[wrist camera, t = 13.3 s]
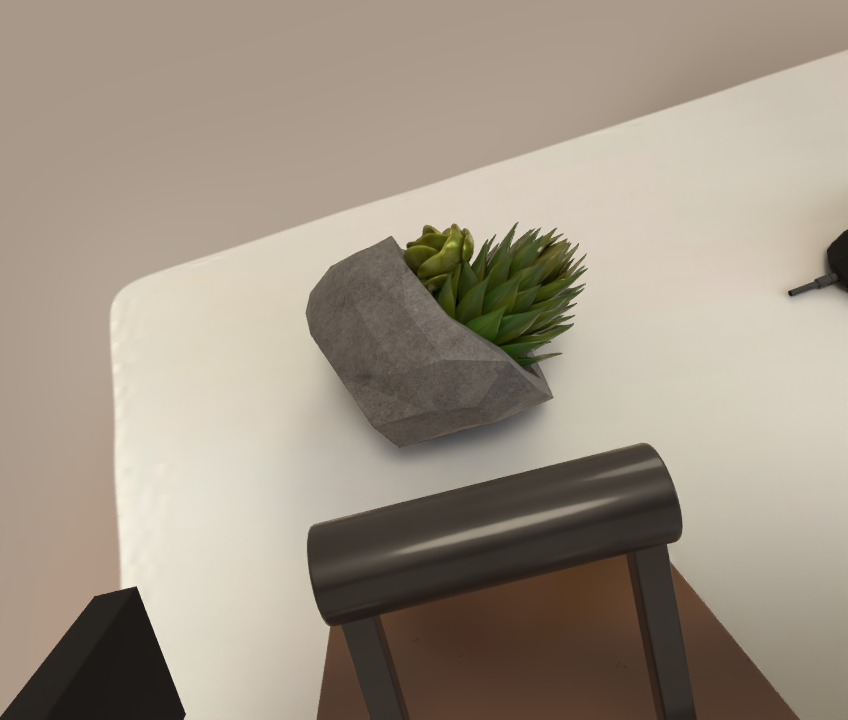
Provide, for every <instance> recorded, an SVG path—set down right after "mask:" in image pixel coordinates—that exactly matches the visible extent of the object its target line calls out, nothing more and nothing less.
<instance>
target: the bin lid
mask: <svg viewBox="0 0 848 720" xmlns="http://www.w3.org/2000/svg"><path fill="white" fill-rule="evenodd" d="M681 535H682V515H681V509H680V504H679V500H678V496H677V493H676V489H675V486H674V484H673V481H672V479H671V476H670V474H669V472H668V470H667V467H666V466H665V464H664V462H663V460H662V459H661V457H660V456H659V454H658V453H657V451H656V450H655V449H654V448H653V447H652V446H651V445H649V444H647V443H639V444H635V445H631V446H627V447H623V448H619V449H615V450H611V451H607V452H603V453H599V454H595V455H591V456H587V457H583V458H579V459H575V460H571V461H567V462H563V463H559V464H555V465H551V466H547V467H543V468H539V469H535V470H531V471H526V472H522V473H518V474H514V475H510V476H506V477H502V478H498V479H494V480H490V481H486V482H482V483H478V484H474V485H470V486H466V487H462V488H458V489H454V490H450V491H446V492H442V493H438V494H434V495H430V496H426V497H422V498H418V499H414V500H410V501H406V502H402V503H398V504H394V505H390V506H385V507H381V508H377V509H373V510H369V511H365V512H361V513H357V514H353V515H349V516H345V517H341V518H337V519H333V520H329V521H325V522H321V523H317V524H314V525H313V526H311V527H310V529H309V533H308V540H307V557H308V567H309V574H310V580H311V585H312V589H313V593H314V597H315V601H316V604H317V607H318V609H319V612H320V614H321V616H322V618H323V620H324V621H325V623H326V624H327V625H328V626H330V633H329V640H328V646H327V653H326V660H325V666H324V673H323V680H322V687H321V693H320V700H319V707H318V713H317V720H800V719H799V718H798V717H797V716H796V714H795V713H794V712H793V711H792V709H791V708H790V707H789V706H788V705H787V703H786V702H785V701H784V700H783V698H782V697H781V696H780V695H779V694H778V692H777V691H776V690H775V689H774V687H773V686H772V685H771V684H770V683H769V681H768V680H767V679H766V678H765V676H764V675H763V674H762V673H761V672H760V670H759V669H758V668H757V667H756V665H755V664H754V663H753V662H752V661H751V659H750V658H749V657H748V656H747V654H746V653H745V652H744V651H743V650H742V648H741V647H740V646H739V645H738V644H737V642H736V641H735V640H734V639H733V637H732V636H731V635H730V634H729V633H728V631H727V630H726V629H725V628H724V626H723V625H722V624H721V623H720V622H719V620H718V619H717V618H716V617H715V615H714V614H713V613H712V612H711V611H710V609H709V608H708V607H707V606H706V604H705V603H704V602H703V601H702V600H701V598H700V597H699V596H698V595H697V593H696V592H695V591H694V590H693V589H692V587H691V586H690V585H689V584H688V582H687V581H686V580H685V579H684V578H683V576H682V575H681V574H680V573H679V571H678V570H677V569H676V568H675V567H674V565H673V564H672V563H671V562H670V560H669V554H668V548H667V544H669V543H673V542H676V541H678V540H679V539H680V537H681Z"/></svg>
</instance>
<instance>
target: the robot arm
mask: <svg viewBox="0 0 848 720" xmlns="http://www.w3.org/2000/svg"><path fill="white" fill-rule="evenodd" d="M185 715H186V713H185V711H184V708H183V706H182V703H181V700H180V698H179V695H178V693H177V690H176V687H175V685H174V682H173V680H172V677H171V675H170V672H169V669H168V667H167V664H166V662H165V659H164V656H163V654H162V651H161V649H160V646H159V643H158V641H157V638H156V636H155V633H154V630H153V628H152V625H151V623H150V620H149V617H148V615H147V612H146V610H145V607H144V604H143V602H142V599H141V597H140V594H139V591H138V589H137V586H136V587H132V588H127V589H123V590H119V591H115V592H111V593H107V594H102V595H99V596H94V598H93V599H92V600H91V602H90V603H89V604H88V605H87V607H86V608H85V609H84V611H83V612H82V613H81V614H80V616H79V617H78V618H77V620H76V621H75V622H74V623H73V625H72V626H71V627H70V629H69V630H68V631H67V632H66V634H65V635H64V636H63V637H62V639H61V640H60V641H59V643H58V644H57V645H56V646H55V648H54V649H53V650H52V652H51V653H50V654H49V655H48V657H47V658H46V659H45V661H44V662H43V663H42V664H41V666H40V667H39V668H38V670H37V671H36V672H35V673H34V675H33V676H32V677H31V678H30V680H29V681H28V682H27V684H26V685H25V686H24V687H23V689H22V690H21V691H20V693H19V694H18V695H17V697H16V698H15V699H14V700H13V702H12V703H11V704H10V705H9V707H8V708H7V709H6V710H5V712H4V713H3V714H2V716H1V717H0V720H184V717H185Z"/></svg>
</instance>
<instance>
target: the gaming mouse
mask: <svg viewBox="0 0 848 720" xmlns="http://www.w3.org/2000/svg"><path fill="white" fill-rule="evenodd" d="M827 253H828V258H829V264H830V269H831V271H832V272H833V273H832V274H829V275H827V276H826V275H825V276H822V277H820V278H817V279H815V280H814V282H812V283H809V284H806V285H804V286H801V287H798V288H795V289H793V290H790V291H788V293H789V295H790V296H794V295H796V294H799V293H802V292H805V291H807V290H810V289H813V288H815V287H817V288H821V287H824V286H826V285H829V284H830V283H833V282H836V281H838V279H839V280H840V282H841V283H842V284H843V285H844V286H846V287H848V230H846V231H844V232H843V233H842V234H841V235H840V236H839V237H838V238H837V239H836V240H835V241H834V242H833V243H832V244H831V246H830V247H829V248H828V250H827Z"/></svg>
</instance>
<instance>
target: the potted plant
mask: <svg viewBox="0 0 848 720" xmlns="http://www.w3.org/2000/svg"><path fill="white" fill-rule="evenodd" d="M517 224H518V222H517V223H516V224H515V225H514V226H513V228H512V229H511V230H510V232H509V233H508V234H507V236H506V237H505V238H504V240H503V241H502V243H501V244H500V246H499V247H498V245H499V243H498V244H497V245H496V246H495V247H494V248H493V249H492V250H491V252H490V253H489V254H488V252H489V249H490V246H491V244H492V242H493V240H494V238H495V236H496V234H495V236H494V237H493V238H492V239H491V240H490V242H489V243H488V244H487V242H488V239H487V241H486V242H485V243H484V245H483V247H482V249H481V251H480V253H479V255H478V257H477V258H476V260H475V261H474V263H473V264H472V266H470V263H469V261H470V260H471V258H472V256H473V252H474V241H473V238H472V235H471V234H470V232H469V230H467V229H465V228H464V229H463V230H462V231H461V229H460V228H459V226H458V225H457V224H452V226H451V228H448V229H446V230H445V231H444V232H443V233H440V232H439V231H438V230H436V229H435V228H434V227H432V226H429V225H425V226H424V227H423V234H422V236H421V237H420V238H419V239H417V240H416V241H415V242H409V243H407V245H406V247H407V250H403V249H400V247H399V246H398V244H397V243H396V241H395V240H394V238H393V237H392V236H390V237H388V238H386V239H385V240H383V241H381V242H379V243H377V244H375V245H374V246H371V247H369V248H366V249H364V250H362V251H359V252H357V253H355V254H353V255H351V256H349V257H348V258H346V259H344V260H342V261H340V262H338V263H336V264H335V265H333V266H331V267H330V268H329V270H328V271H327V272H326V273H325V275H324V276H323V277H322V279H321V280H320V281H319V282H318V284H317V285H316V286H315V288H314V289H313V290H312V291H311V293H310V296H309V301H308V305H307V309H306V317H307V321H308V326H309V330H310V334H311V336H312V337H313V339H314V340H315V342H316V343H317V345H318V346H319V348H320V349H321V351H322V352H323V354H324V355H325V357H326V358H327V360H328V361H329V362H330V364H331V365H332V367H333V368H334V370H335V371H336V373H337V374H338V376H339V377H340V379H341V380H342V382H343V383H344V385H345V386H346V388H347V389H348V390H349V392H350V393H351V395H352V396H353V398H354V399H355V401H356V402H357V404H358V405H359V407H360V408H361V410H362V411H363V412H364V414H365V415H366V417H367V418H368V420H369V421H370V423H371V424H372V426H373V427H374V428H375V429H377V430H378V431H379V432H380V433H382V434H383V435H384V436H385V437H387V438H388V439H389V440H390V441H392V442H393V443H394V444H395V445H397V446H398V447H399V448H400V447H404V446H407V445H411V444H415V443H418V442H422V441H426V440H429V439H433V438H437V437H440V436H444V435H447V434H451V433H455V432H458V431H462V430H466V429H470V428H474V427H478V426H482V425H486V424H490V423H494V422H498V421H500V420H502V419H505V418H507V417H510V416H512V415H514V414H517V413H519V412H521V411H524V410H526V409H529V408H531V407H533V406H536V405H538V404H541V403H543V402H545V401H548V400H550V399H553V398H554V397H553V395H552V393H551V391H550V388H549V386H548V384H547V382H546V380H545V377H544V375H543V373H542V371H541V369H540V367H539V365H538V363H537V362H539V361H542V360H545V359H548V358H551V357H554V356H557V355H560V354H562V353H551V354H545V355H538V356H534V355H533V353H532V351H534V350H536V349H538V348H539V347H541V346H542V345H544V344H547V343H550V342H551V341H549V340H551V339H553V338H555V337H556V336H558V335H560V334H561V333H563V332H565V331H566V330H568V329H569V328H571V327H572V326H573V324H574V323H573V324H569V325H558V324H559V323H561V322H564V321H566V320H568V319H570V318H572V317H574V316H575V315H573V316H568V317H563V318H561V317H562V316H564V315H561V314H563V313H564V312H566V311H567V310H569V309H570V308H572V307H573V306H574V305H576V304H577V303H575V304H572V305H570V306H567V305H568V304H569V303H570V302H569V301H571V300H572V299H573V298H574V297H576V296H577V295H578V294H579V293H581V292H582V291H583V289H584V288H583V289H581V290H579V289H580V288H581V287H583V286H584V285H585V284H586V283H585V284H582V285H580V286H577V287H575V288H571V289H570V288H568V287H569V286H570V285H571V284H572V283H573V282H574V281H575V280H576V279H577V278H578V277H579V276H580V275H581V274H583V273H584V272H585V271H586V270H587V269H588V268H587V269H585V270H583V271H581V270H582V269H583V268H584V266H585V265H584V266H583V267H581V268H580V269H578V270H577V271H576V272H575V273H573V272H574V271H575V269H576V268H577V266H578V265H579V264H580V263H581V261H582V260H583V259H584V258H585V256H586V254H587V253H586V254H585V255H584V256H583V257H582V258H581V259H580V260H579V261H578V262H577V263H576V264H575V265H574V266H573V267H571V268H570V269H569V270H568V268H569V267H570V265H571V263H572V262H573V260H574V259H575V258H574V259H572V260H571V261H570V262H569V263H568V261H569V260H570V258H571V256H572V255H573V254H574V252H575V251H576V249H577V248H578V245H579V243H578V244H577V246H576V247H574V248H573V249H572V250H571V251H569V252H568V253H566V252H567V250H568V249H569V247H570V245H571V243H570V242H568V243H566V241H567V239H568V238H567V239H565V240H563V241H560V242H558V243H555V244H553V243H554V242H555V241H556V240H557V239H558V238H559V237H560V236H561V235H563V234H564V233H563V234H560V235H558V236H556V237H553V238H551V236H552V235H553V233H554V232H555V230H556V229H557V228H555V229H553V230H552V231H551V232H550V233H548V234H547V235H545V236H543V235H542V236H541V237H540V238H538V239H537V240H535V239H536V237H537V234H538V232H539V231H540V229H541V228H539V229H538V230H537V231H535V232H534V233H533V234H532V235H531V233H532V232H533V231H534V229H535V228H534V229H533V230H529V231H528V232H527V233H526V234H524V235H523V236H522V237H521V238H520V239H518V240H517V241H516V242H515V243H514V244H513V245H512V246H511V247H510V245H511V241H512V238H513V236H514V233H515V231H514V230H515V228H516V226H517ZM530 235H531V236H530ZM550 238H551V239H550ZM565 243H566V244H565ZM569 243H570V244H569ZM551 244H553V245H551ZM550 245H551V246H550ZM497 247H498V248H497ZM567 270H568V271H567ZM580 271H581V272H580ZM572 273H573V274H572ZM567 288H568V289H567ZM577 290H579V291H577ZM576 291H577V292H576ZM566 306H567V307H566ZM560 315H561V316H560Z"/></svg>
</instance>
